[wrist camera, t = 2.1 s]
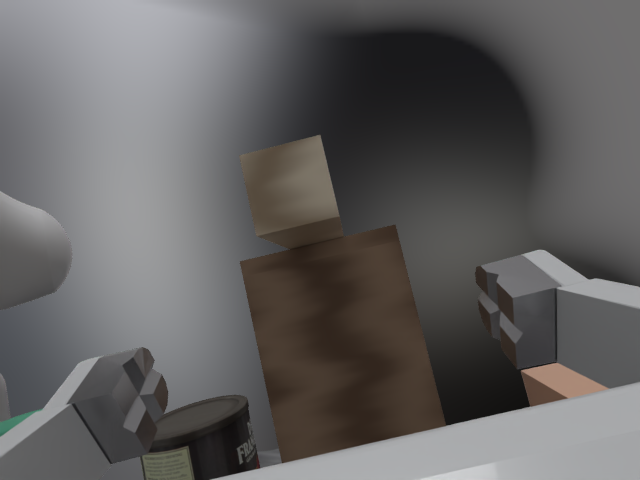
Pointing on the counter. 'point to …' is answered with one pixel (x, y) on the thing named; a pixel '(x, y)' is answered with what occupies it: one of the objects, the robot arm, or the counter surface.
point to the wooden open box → (341, 344)
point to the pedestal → (556, 384)
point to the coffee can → (202, 441)
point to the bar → (292, 194)
